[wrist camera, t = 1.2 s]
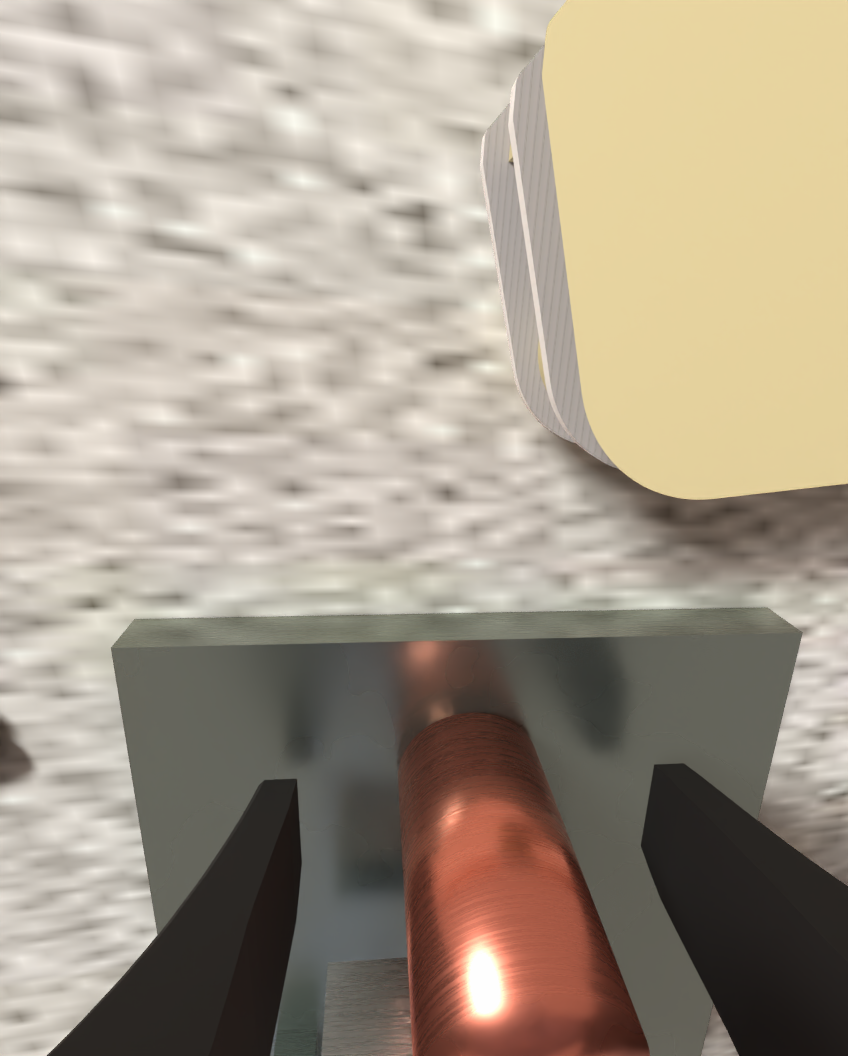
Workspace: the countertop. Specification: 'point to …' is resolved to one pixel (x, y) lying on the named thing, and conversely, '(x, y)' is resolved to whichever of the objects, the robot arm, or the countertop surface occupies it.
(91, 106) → the countertop surface
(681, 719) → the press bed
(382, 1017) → the ram
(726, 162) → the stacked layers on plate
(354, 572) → the countertop surface
